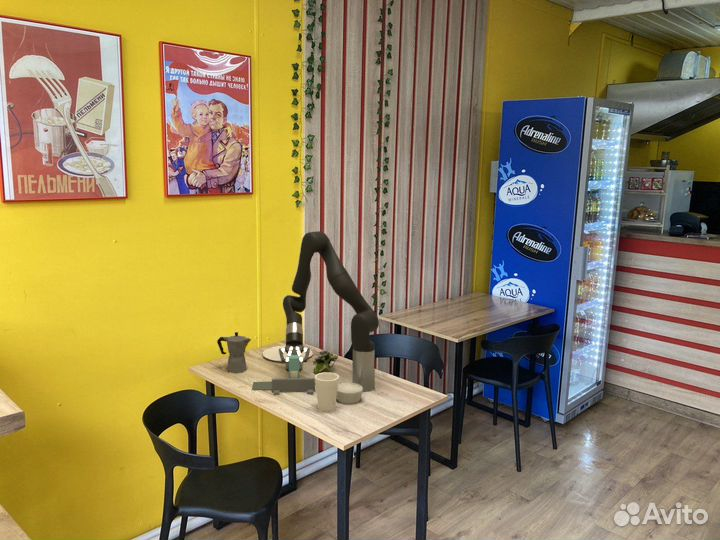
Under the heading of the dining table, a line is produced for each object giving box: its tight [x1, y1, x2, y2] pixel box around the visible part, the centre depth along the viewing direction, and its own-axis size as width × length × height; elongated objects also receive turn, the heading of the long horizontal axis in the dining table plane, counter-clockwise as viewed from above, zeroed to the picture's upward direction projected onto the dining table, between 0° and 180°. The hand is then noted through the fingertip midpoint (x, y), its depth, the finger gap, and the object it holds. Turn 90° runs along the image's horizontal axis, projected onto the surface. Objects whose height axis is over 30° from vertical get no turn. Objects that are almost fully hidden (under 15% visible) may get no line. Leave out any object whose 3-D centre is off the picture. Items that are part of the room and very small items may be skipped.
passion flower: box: [312, 350, 339, 374], centre depth 259 cm, size 11×11×12 cm
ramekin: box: [336, 382, 363, 405], centre depth 228 cm, size 11×11×5 cm
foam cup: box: [314, 371, 340, 413], centre depth 218 cm, size 10×9×13 cm
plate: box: [262, 344, 314, 363], centre depth 281 cm, size 25×25×2 cm
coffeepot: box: [216, 331, 252, 374], centre depth 257 cm, size 15×9×18 cm, turn 91°
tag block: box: [288, 355, 301, 378], centre depth 239 cm, size 4×5×10 cm
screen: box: [271, 377, 316, 396], centre depth 233 cm, size 18×4×6 cm, turn 96°
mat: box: [251, 381, 272, 392], centre depth 239 cm, size 9×9×1 cm
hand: (294, 370), depth 238 cm, fingers closed on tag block, 4 cm apart
